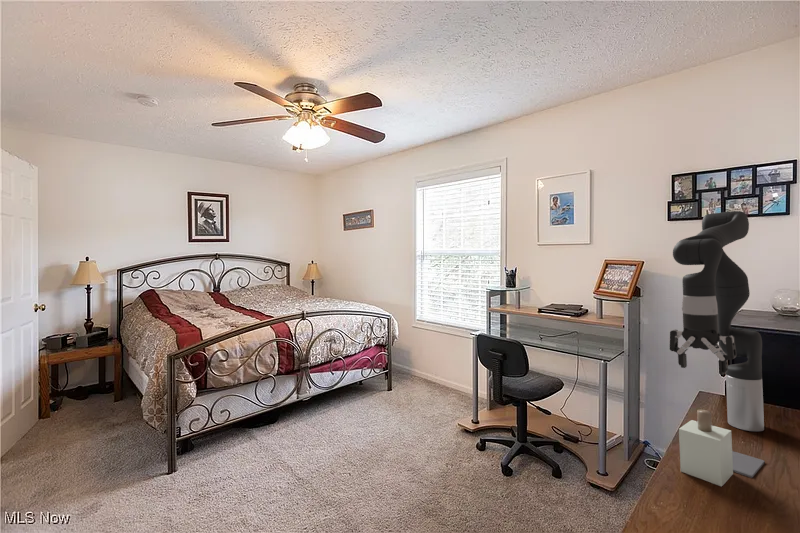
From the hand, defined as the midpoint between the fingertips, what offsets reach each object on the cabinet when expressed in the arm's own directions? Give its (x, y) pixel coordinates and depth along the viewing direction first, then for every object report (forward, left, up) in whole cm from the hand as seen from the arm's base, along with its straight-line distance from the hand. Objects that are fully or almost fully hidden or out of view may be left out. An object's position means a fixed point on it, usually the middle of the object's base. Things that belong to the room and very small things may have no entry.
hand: (702, 370), depth 102 cm
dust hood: (0, 0, -28) cm, 28 cm away
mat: (-12, +2, -28) cm, 31 cm away
